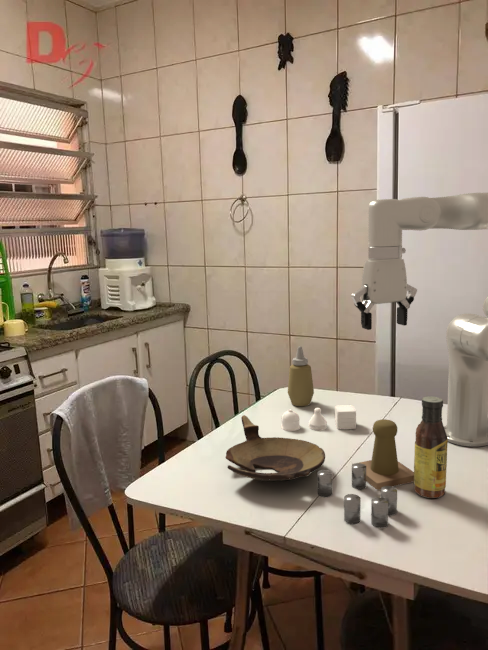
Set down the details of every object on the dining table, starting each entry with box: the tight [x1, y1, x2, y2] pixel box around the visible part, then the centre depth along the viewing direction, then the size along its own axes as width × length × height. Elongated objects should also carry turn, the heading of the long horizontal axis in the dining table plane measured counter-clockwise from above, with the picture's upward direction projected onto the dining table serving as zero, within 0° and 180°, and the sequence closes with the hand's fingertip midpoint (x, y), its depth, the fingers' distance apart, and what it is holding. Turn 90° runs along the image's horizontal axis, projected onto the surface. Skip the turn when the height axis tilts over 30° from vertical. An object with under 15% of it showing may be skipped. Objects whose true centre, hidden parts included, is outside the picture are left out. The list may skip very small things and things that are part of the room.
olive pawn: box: [371, 418, 399, 475], centre depth 118 cm, size 6×6×11 cm
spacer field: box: [317, 462, 398, 529], centre depth 107 cm, size 11×17×4 cm, turn 19°
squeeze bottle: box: [287, 346, 315, 407], centre depth 165 cm, size 8×8×18 cm
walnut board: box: [351, 459, 414, 491], centre depth 119 cm, size 10×10×2 cm
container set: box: [280, 404, 357, 432], centre depth 148 cm, size 20×5×6 cm, turn 87°
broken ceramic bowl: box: [225, 414, 326, 482], centre depth 124 cm, size 22×30×8 cm
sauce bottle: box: [413, 396, 449, 499], centre depth 109 cm, size 6×6×20 cm
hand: (384, 326), depth 128 cm, fingers open, 9 cm apart
